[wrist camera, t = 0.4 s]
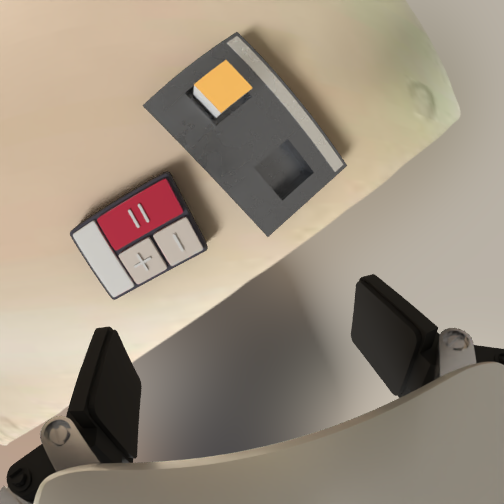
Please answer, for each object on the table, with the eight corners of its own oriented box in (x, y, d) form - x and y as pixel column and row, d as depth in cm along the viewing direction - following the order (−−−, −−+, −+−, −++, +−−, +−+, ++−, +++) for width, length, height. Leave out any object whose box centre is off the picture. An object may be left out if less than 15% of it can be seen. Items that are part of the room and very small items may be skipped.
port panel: (232, 41, 28) (237, 31, 25) (334, 163, 37) (347, 165, 34) (147, 109, 30) (142, 105, 27) (261, 228, 39) (268, 237, 36)
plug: (218, 77, 30) (226, 59, 22) (239, 99, 31) (252, 87, 24) (193, 97, 30) (193, 84, 23) (214, 119, 32) (221, 112, 24)
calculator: (209, 251, 35) (112, 304, 34) (206, 240, 39) (117, 289, 38) (167, 172, 30) (66, 234, 29) (169, 169, 34) (76, 225, 33)
